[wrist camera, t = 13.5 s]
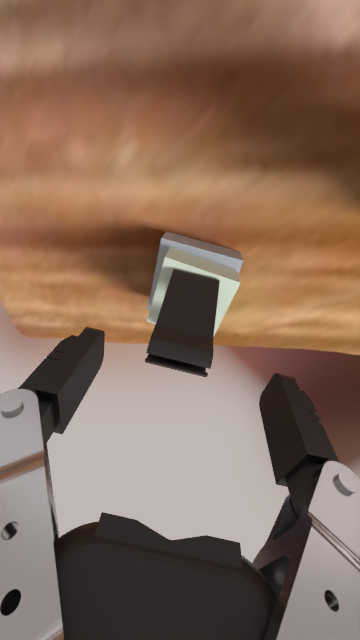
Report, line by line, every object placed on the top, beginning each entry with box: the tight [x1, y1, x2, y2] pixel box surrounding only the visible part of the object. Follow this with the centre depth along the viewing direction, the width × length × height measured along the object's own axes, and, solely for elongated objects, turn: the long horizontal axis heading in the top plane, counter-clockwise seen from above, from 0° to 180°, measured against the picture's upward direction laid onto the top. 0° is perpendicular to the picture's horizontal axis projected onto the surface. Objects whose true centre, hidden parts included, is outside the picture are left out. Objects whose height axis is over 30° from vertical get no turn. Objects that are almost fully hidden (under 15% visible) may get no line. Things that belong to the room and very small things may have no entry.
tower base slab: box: [147, 231, 244, 310], centre depth 37 cm, size 12×12×5 cm
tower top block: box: [147, 247, 240, 337], centre depth 33 cm, size 10×10×5 cm
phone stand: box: [145, 269, 220, 377], centre depth 26 cm, size 9×6×12 cm, turn 167°
